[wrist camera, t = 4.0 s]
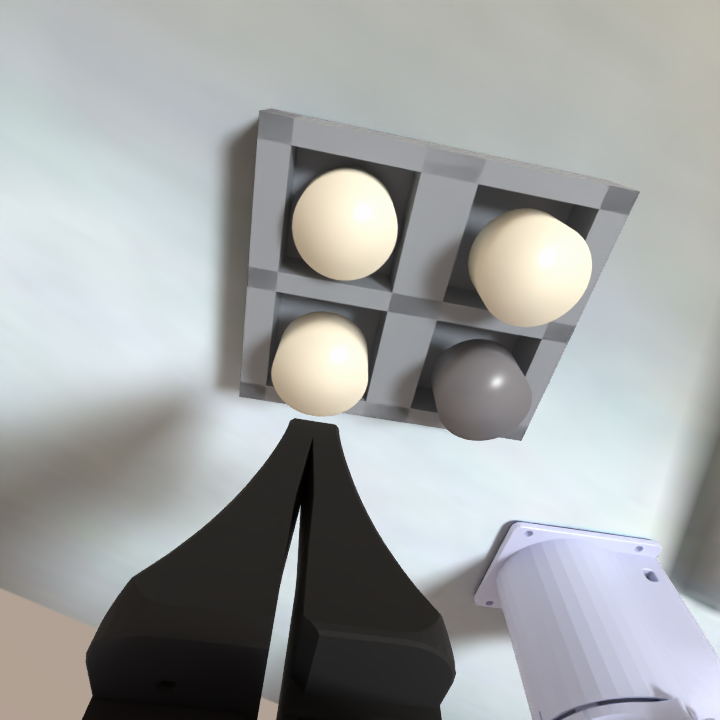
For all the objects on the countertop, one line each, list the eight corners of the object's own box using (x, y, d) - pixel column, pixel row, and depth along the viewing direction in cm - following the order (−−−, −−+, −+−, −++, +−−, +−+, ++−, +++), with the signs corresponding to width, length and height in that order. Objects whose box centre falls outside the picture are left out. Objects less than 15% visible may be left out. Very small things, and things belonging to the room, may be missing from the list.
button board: (608, 180, 18) (639, 191, 16) (507, 411, 23) (521, 440, 21) (271, 108, 16) (259, 110, 14) (250, 369, 22) (239, 396, 20)
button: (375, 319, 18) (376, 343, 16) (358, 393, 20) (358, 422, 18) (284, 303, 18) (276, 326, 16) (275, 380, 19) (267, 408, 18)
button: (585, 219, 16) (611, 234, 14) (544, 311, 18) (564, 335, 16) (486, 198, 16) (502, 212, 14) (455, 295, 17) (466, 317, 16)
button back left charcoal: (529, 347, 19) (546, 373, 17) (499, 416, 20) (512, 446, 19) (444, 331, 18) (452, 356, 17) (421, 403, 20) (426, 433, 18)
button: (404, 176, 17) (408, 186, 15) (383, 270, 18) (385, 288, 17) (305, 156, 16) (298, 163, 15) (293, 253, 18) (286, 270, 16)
